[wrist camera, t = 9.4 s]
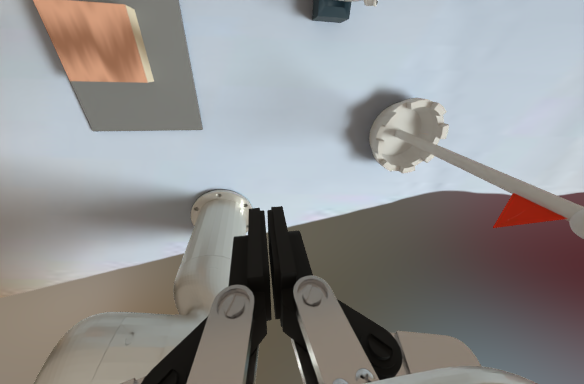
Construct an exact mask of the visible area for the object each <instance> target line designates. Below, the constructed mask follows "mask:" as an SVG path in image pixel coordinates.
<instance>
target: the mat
mask: <svg viewBox="0 0 584 384" xmlns="http://www.w3.org/2000/svg"><path fill="white" fill-rule="evenodd" d="M72 1H86V2H99V3H113V4H124V5H127V6H129V7H131V8H133V9H134V10H135V13H136V17H137V21H138V24H139V28H140V31H141V35H142V39H143V42H144V46H145V50H146V53H147V57H148V61H149V64H150V68H151V72H152V75H153V79H154V82H148V83H139V82H89V81H70V82H71V84H72V86H73V89H74V91H75V93H76V95H77V97H78V99H79V102H80V104H81V106H82V108H83V110H84V113H85V115H86V117H87V119H88V121H89V124H90V126H91V128H92V130H93V131H155V130H203V127H202V122H201V117H200V111H199V106H198V101H197V95H196V90H195V85H194V79H193V74H192V69H191V63H190V58H189V53H188V48H187V42H186V37H185V32H184V26H183V21H182V16H181V10H180V5H179V0H72Z"/></svg>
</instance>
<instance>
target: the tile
mask: <svg viewBox="0 0 584 384" xmlns="http://www.w3.org/2000/svg"><path fill="white" fill-rule="evenodd" d="M33 1H34V3H35V6H36V8H37V10H38V12H39V14H40V17H41V19H42V21H43V23H44V25H45V28H46V30H47V32H48V34H49V36H50V38H51V41H52V43H53V45H54V47H55V49H56V52H57V54H58V56H59V58H60V60H61V63H62V65H63V67H64V69H65V71H66V73H67V76H68V78H69V80H70V81H89V82H139V83H148V82H154V79H153V75H152V72H151V68H150V64H149V61H148V57H147V53H146V50H145V46H144V42H143V39H142V35H141V31H140V28H139V24H138V21H137V17H136V13H135V10H134V9H133V8H131V7H129V6H127V5H124V4H113V3H99V2H86V1H72V0H33Z"/></svg>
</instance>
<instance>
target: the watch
mask: <svg viewBox="0 0 584 384" xmlns="http://www.w3.org/2000/svg"><path fill="white" fill-rule="evenodd" d="M351 1H363V0H314V1H313V16H312V20H313V21H324V22H336V23H341V22H343V21H345V20H347V19H349V15H350V8H351ZM377 2H378V0H364V4H365V5H366V6H374V7H375V6H376V5H377Z"/></svg>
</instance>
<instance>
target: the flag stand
mask: <svg viewBox="0 0 584 384" xmlns="http://www.w3.org/2000/svg"><path fill="white" fill-rule="evenodd" d="M445 113H446V110H445V109H444V107H443V106H442V105H441V104H439V103H436V102H432V101H430V100H427V99H421V98H411V99H407V100H404V101H402V102H399V103H395V104H393V105H391V106H389V107H387V108H386V109H385V110H383V111H382V112H381V113H380V114H379V115H378V116H377V118H376V119H375V121H374V123H373V125H372V127H371V130H370V135H369V143H370V147H371V149H372V152H373V156H374V157H375V159H376V161H377V162H378V163H379V164H380V165H382V166H383V167H384V168H386V169H387V170H389V171H392V170H393V171H400V172H401V173H408V172H412V171H415V166H416V165H418V164H419V163H421V162H422V161H425V162H426V163H428V162H429V161H430V160H431V159H432V158H433V157H434V156H436V157H438V158H440V159H442V160H444V161H446V162H448V163H450V164H452V165H455V166H457V167H459V168H461V169H463V170H465V171H467V172H469V173H471V174H473V175H475V176H477V177H479V178H481V179H483V180H485V181H487V182H489V183H491V184H493V185H496V186H498V187H500V188H502V189H504V190H506V191H508V192H510V193H512V196H511V198H510V199H509V201H508V203H507V205H506V206H505V208H504V210H503V211H502V213H501V215H500V216H499V218H498V220H497V221H496V223H495V225H494V226H493V228H497V227H504V226H513V225H521V224H529V223H537V222H544V221H553V220H561V219H565V220H567V221H569V222H570V227H571V229H572V230H573V232H574V233H576V234H577V235H578V236H580V237H581V238H583V239H584V207H582V206H580V205H578V204H575V203H573V202H570V201H568V200H566V199H563V198H561V197H559V196H556V195H554V194H552V193H549V192H547V191H544V190H542V189H540V188H537V187H535V186H533V185H530V184H528V183H526V182H523V181H521V180H519V179H516V178H514V177H511V176H509V175H507V174H504V173H502V172H500V171H497V170H495V169H493V168H490V167H488V166H485V165H483V164H481V163H478V162H476V161H474V160H471V159H469V158H467V157H464V156H462V155H459V154H457V153H455V152H452V151H450V150H448V149H445V148H443V147H441V146H438V145H437V144H438V142H439V140H440V139H446V136H447V133H448V128H449V125H448V124H445V123H444V120H443V115H444V114H445Z"/></svg>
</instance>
